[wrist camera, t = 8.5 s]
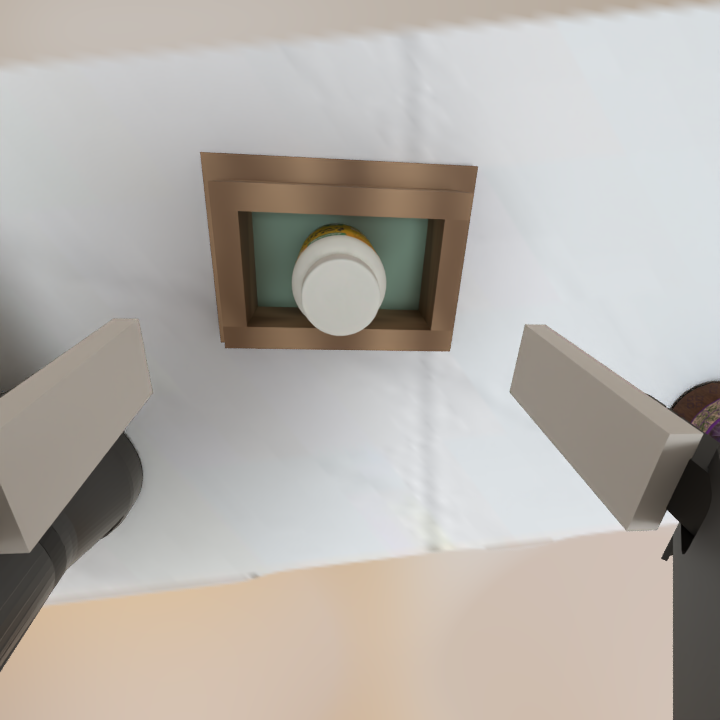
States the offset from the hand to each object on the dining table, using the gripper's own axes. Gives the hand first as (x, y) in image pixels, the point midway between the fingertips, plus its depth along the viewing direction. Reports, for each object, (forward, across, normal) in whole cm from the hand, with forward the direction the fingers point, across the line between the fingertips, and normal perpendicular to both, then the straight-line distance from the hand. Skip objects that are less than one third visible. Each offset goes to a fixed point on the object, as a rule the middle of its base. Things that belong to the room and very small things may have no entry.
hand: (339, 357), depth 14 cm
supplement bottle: (+16, 0, 0) cm, 16 cm away
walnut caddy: (+17, +1, 0) cm, 17 cm away
